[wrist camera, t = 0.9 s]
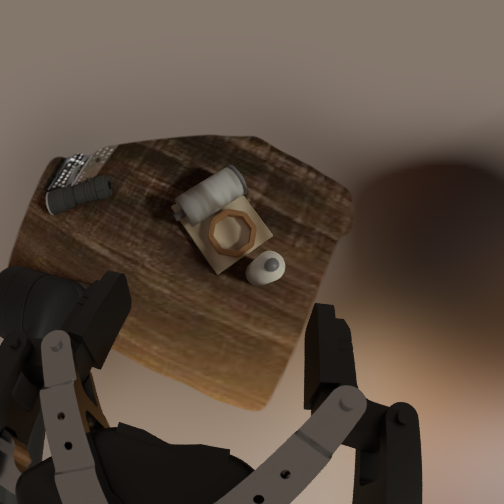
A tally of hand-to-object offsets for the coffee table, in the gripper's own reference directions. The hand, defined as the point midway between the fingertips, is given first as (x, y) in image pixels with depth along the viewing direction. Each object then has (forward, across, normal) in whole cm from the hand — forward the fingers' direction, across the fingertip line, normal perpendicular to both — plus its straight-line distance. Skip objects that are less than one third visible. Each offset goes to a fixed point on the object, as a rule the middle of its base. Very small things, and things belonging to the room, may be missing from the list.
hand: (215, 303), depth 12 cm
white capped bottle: (+38, +1, -30) cm, 49 cm away
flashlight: (+40, -40, -19) cm, 60 cm away
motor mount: (+44, -8, -23) cm, 50 cm away
